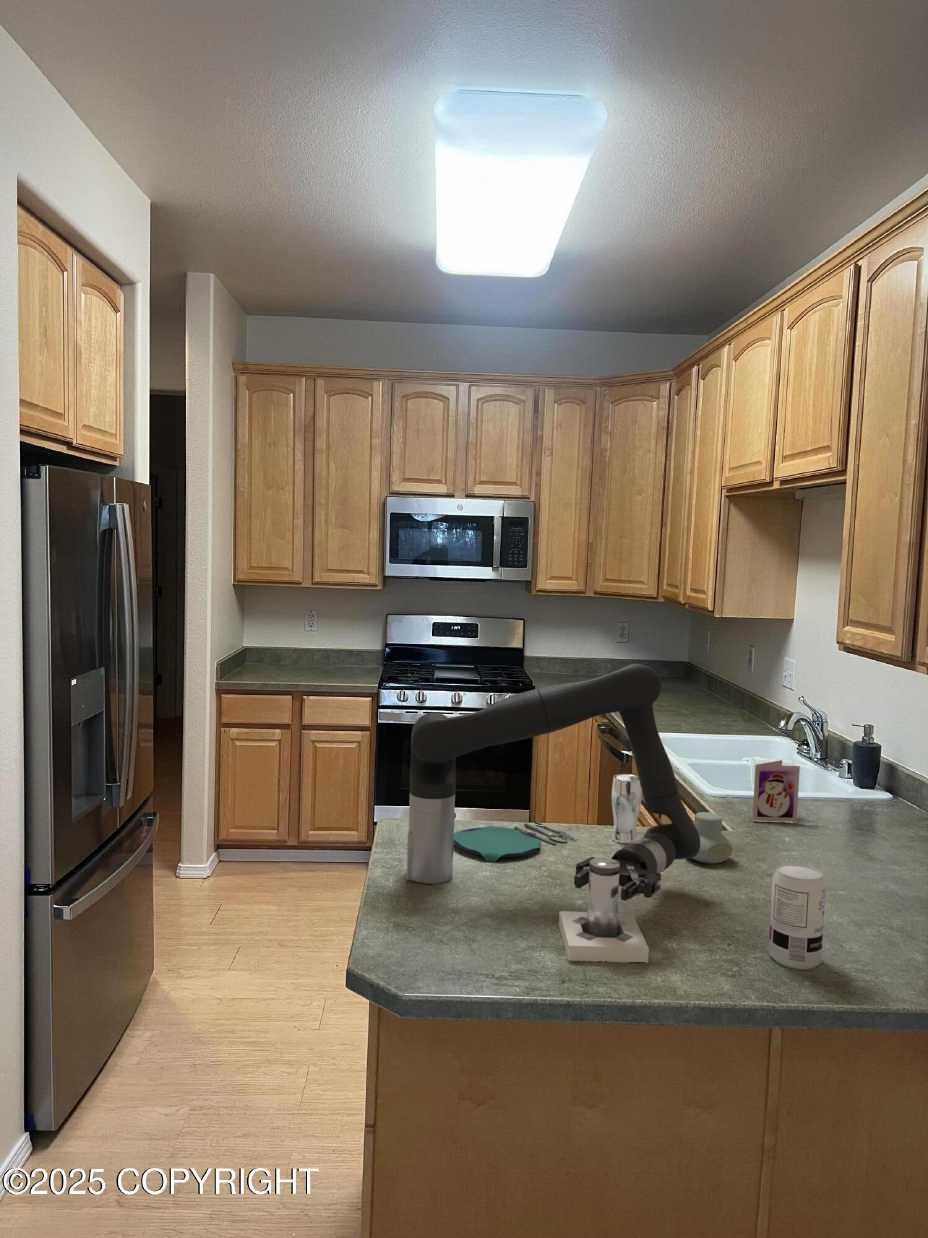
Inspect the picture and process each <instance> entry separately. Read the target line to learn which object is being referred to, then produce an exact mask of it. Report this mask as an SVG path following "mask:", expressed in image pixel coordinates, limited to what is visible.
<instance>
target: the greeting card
mask: <svg viewBox="0 0 928 1238" xmlns="http://www.w3.org/2000/svg"><path fill="white" fill-rule="evenodd" d="M754 765H755V769H754V772H755V773H754V784H753V786H754V787H753V804H752V806H753V807H752V819H753V820H762V821H765V820H767V821H792V822H797V823H798V804H799V790H800V788H799V787H800V786H799V785H800V774H801V773H800V771H801V770H800V769H801V766H800V765H783V760H782V759H780V760H775V761H771V762H765V763H760V764H758V763H757V764H754Z"/></svg>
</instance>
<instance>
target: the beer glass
mask: <svg viewBox="0 0 928 1238" xmlns="http://www.w3.org/2000/svg"><path fill="white" fill-rule="evenodd" d="M612 778H613V780H612V787H611V806H612V815H613V830H612V834H611V840H612V841H613V840H614V841H613V842H615V843H618V842H619V843H618V844H622V843H623V844H624V845H629V844H630V843H632V842H634V841H636V840H639V839H638V838H639V837H638V832H637V829H638V828H637V826H638V820H639V815H640V810H641V807H642V806H641V804H642V797H643V793H642V789H641V785H640V781H639V776H637V775H634V774H630V773H629V774H628V773H620V774H615V775H613V777H612Z"/></svg>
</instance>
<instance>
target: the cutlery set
mask: <svg viewBox="0 0 928 1238" xmlns="http://www.w3.org/2000/svg"><path fill="white" fill-rule="evenodd" d="M535 824H538V825H544V823H541V822H539V821H534V826H533V825H531V824H529V823H527V822H525V823H524V825H523V826H524V827H525V828H529V829H532V830H533V831H537V832H539V833H540V834H543V835H545V837H546V836H547V837H548V839H549V840H548V839H545V838H544V837H541V836H539V835H537V833H536V832H533V831H528V830H524V829H523V828H520V827H517V826H516V825H515V826H514V828H513V827H504V826H495V825H494V826H493V825H486V826H484V827H474V828H468V829H467V828H466V829H464V830H461V831H456V832H455V831H454V843H453V845H454V846H455V847H457V848H458V849H459V848H460V849H461V850H463V851H465V852H467V853H470V854H473V855H479V856H482V857H483V858H484V860H486V861H487V862H490V863H494V862H496V861H498V859H499V858H514V857H520V856H521V857H523V856H527V855H529V854H530V855H531V854H532V853H534V852H536V851H537V852H539V851H541V846H542V843H541V842H544V843H546V844H549V845H552V846H557V843H563V844H564V843H566V842H568V840H569V839H570V840H569V841H571V840H573V841H572V842H576V841H577V840H578V838H577V839H576V838H575V837H573V836H571V835H570V834H567V832H565V831H562V830H556V829H553V828H551V827H549V826H547V825H545V826H538V825H535ZM538 827H540V829H539V828H538ZM541 827H544V828H542V829H544V830H546V831H548V832H551V833H554V832H555V834H556V835H555V834H548V833H547V832H545V831H543V830H541ZM558 834H559V835H558ZM550 837H551V838H550ZM556 837H559V838H558V839H560V838H561V839H560V840H556V839H553V838H556ZM563 837H565V838H563ZM570 837H571V838H570ZM566 838H567V839H566ZM550 839H551V841H550ZM563 839H564V840H565V841H564V840H563ZM575 839H576V840H575ZM561 840H563V841H561ZM574 840H575V841H574Z"/></svg>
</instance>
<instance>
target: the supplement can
mask: <svg viewBox="0 0 928 1238" xmlns="http://www.w3.org/2000/svg"><path fill="white" fill-rule="evenodd" d="M771 880H772V883H771V884H772V885H771V899H770V900H771V903H770V917H769V919H770V920H769V937H768V953H769V955H770V957H772V959H773V960H774V961H775V962H777V963H778V964H780V965H782V966H784V967H787V968H790V969H797V970H812V969H814V968H816V967H817V966H818V965H820V964H821V963H822V953H823V938H824V937H823V935H824V922H825V921H824V920H825V919H824V918H825V903H826V887H827V885H826V881H825V879H824V877H823V873H822V872H821V871H820V870H818V869H817V868H815V867H811V866H806V865H802V864H797V863H796V864H794V863H793V864H791V863H789V864H788V863H785V864H780V865H779V866H777V869H776V871H775V872H774V873H773V876H772V879H771Z"/></svg>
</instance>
